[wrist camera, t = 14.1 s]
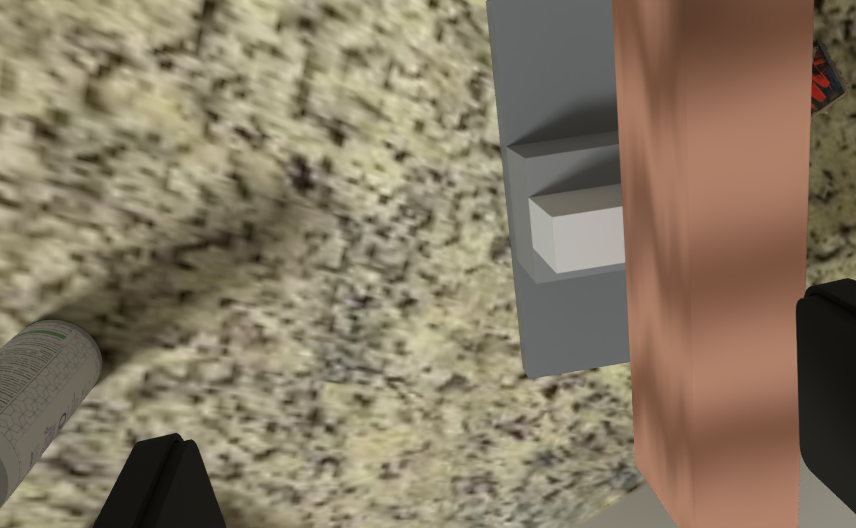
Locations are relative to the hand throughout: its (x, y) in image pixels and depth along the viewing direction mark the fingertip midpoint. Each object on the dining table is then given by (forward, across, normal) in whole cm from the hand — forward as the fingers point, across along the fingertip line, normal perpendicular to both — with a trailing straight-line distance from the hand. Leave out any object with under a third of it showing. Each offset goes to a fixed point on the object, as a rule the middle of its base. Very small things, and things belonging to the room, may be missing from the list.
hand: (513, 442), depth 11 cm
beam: (+18, -10, +4) cm, 21 cm away
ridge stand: (+27, -10, +4) cm, 29 cm away
